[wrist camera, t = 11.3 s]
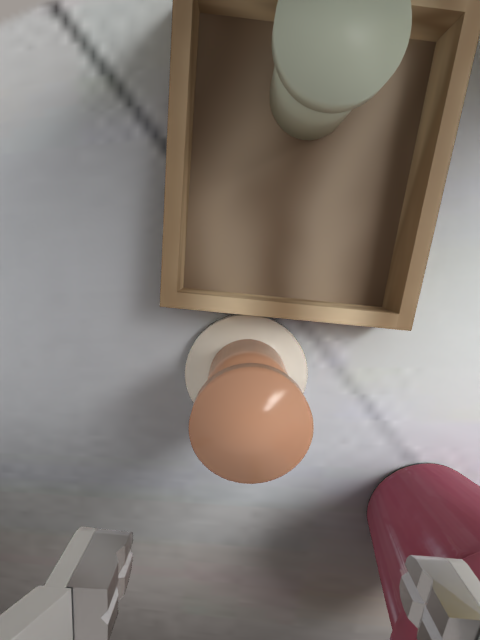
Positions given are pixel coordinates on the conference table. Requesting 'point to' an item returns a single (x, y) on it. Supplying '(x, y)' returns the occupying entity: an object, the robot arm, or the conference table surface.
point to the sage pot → (333, 59)
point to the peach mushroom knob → (250, 415)
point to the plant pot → (421, 528)
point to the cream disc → (238, 330)
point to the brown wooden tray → (305, 173)
